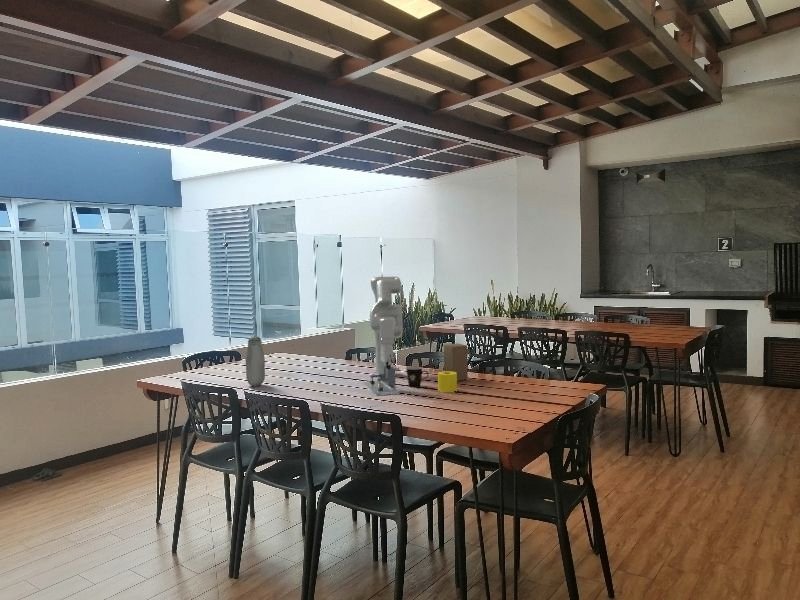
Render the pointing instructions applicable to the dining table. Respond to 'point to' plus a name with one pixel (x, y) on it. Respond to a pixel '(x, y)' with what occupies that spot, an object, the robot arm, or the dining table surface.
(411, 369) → the coffee mug
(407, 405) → the dining table surface
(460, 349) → the wooden block
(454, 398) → the dining table surface
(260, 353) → the grey vase
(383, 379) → the sliding jaw
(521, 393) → the dining table surface
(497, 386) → the dining table surface
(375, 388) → the gauge board
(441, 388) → the tape roll
